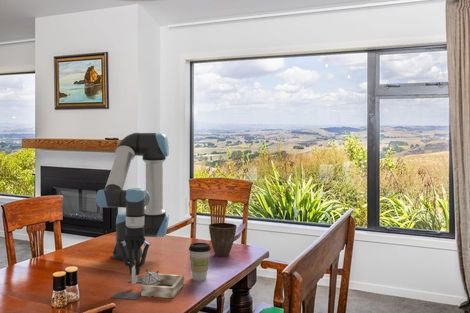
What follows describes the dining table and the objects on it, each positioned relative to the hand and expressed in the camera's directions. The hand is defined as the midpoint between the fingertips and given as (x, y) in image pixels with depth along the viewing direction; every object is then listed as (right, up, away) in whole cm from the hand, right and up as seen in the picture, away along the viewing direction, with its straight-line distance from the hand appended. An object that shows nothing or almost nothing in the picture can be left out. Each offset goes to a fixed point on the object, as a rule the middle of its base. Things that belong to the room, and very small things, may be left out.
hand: (134, 282), depth 173 cm
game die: (+7, -3, -3) cm, 8 cm away
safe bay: (+12, -3, -2) cm, 12 cm away
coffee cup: (+26, -2, +14) cm, 29 cm away
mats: (0, -2, 0) cm, 2 cm away
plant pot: (+35, -1, +52) cm, 62 cm away
